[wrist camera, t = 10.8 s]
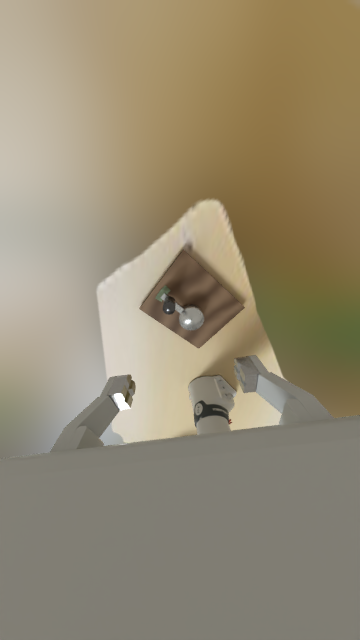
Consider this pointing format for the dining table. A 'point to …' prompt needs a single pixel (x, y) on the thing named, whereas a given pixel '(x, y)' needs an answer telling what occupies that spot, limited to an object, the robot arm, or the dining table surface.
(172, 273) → the board
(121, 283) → the dining table surface
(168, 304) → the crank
